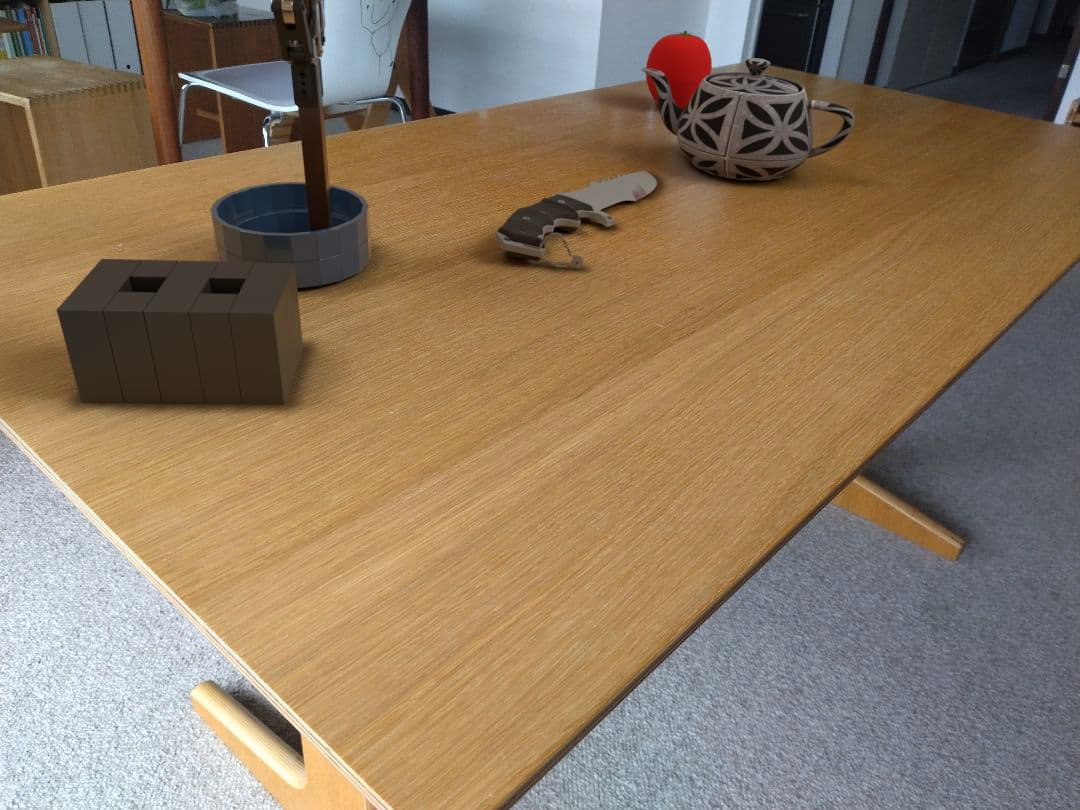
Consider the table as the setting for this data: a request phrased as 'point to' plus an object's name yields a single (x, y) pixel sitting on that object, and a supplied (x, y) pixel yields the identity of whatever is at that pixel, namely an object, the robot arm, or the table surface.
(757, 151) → the teapot
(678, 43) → the tomato
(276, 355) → the holder
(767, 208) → the table surface
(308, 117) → the stick
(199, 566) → the table surface
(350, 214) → the bowl
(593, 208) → the knife
